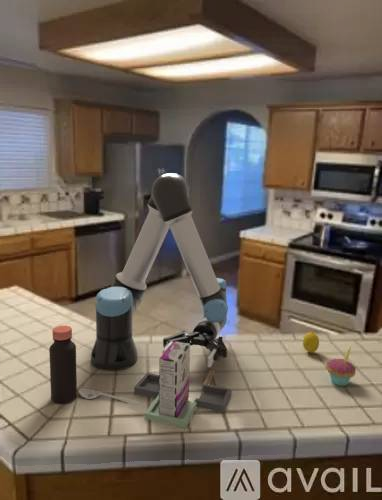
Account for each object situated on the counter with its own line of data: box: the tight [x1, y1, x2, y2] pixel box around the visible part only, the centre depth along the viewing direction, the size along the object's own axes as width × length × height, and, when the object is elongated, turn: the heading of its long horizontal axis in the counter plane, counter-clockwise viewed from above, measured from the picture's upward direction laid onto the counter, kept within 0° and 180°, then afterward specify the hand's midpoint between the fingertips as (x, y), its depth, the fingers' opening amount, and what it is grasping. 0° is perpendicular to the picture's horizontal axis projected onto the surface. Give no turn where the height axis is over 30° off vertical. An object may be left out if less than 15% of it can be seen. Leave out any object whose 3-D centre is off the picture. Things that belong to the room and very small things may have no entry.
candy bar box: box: [158, 341, 191, 418], centre depth 104 cm, size 11×5×16 cm, turn 163°
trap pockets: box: [133, 372, 232, 414], centre depth 112 cm, size 26×9×2 cm, turn 72°
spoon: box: [78, 388, 139, 405], centre depth 109 cm, size 4×21×2 cm, turn 79°
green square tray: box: [144, 394, 198, 429], centre depth 104 cm, size 11×11×2 cm
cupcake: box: [325, 346, 357, 386], centre depth 121 cm, size 9×8×12 cm
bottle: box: [48, 325, 78, 405], centre depth 107 cm, size 7×7×20 cm
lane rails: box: [201, 369, 215, 391], centre depth 121 cm, size 11×10×2 cm
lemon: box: [302, 331, 320, 354], centre depth 141 cm, size 6×6×8 cm
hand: (185, 358), depth 113 cm, fingers open, 13 cm apart
